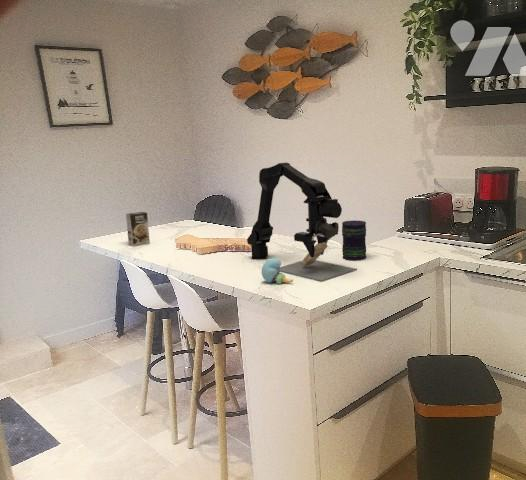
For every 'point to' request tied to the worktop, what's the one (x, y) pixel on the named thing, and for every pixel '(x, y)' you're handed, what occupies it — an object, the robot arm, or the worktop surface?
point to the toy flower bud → (274, 271)
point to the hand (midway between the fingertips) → (317, 256)
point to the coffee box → (137, 228)
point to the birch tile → (317, 252)
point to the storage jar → (354, 240)
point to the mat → (317, 270)
